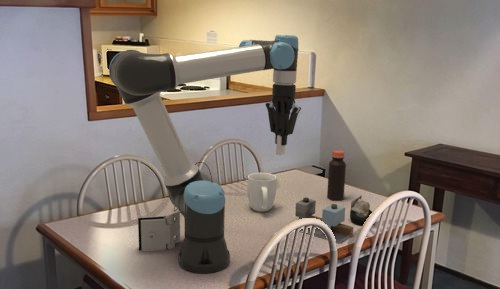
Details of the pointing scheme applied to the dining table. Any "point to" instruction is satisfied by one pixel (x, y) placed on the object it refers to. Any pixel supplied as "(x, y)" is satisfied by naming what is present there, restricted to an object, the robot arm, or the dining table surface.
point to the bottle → (336, 176)
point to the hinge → (159, 232)
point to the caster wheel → (359, 211)
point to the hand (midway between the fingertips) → (280, 154)
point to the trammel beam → (307, 210)
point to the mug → (261, 191)
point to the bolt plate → (338, 235)
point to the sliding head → (333, 215)
